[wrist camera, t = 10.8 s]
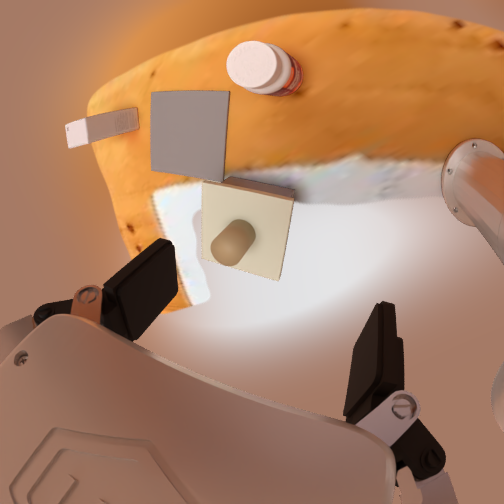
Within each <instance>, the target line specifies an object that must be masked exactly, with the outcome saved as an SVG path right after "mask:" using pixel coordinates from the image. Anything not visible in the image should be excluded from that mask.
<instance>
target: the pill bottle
mask: <svg viewBox="0 0 504 504" xmlns="http://www.w3.org/2000/svg"><path fill="white" fill-rule="evenodd" d="M227 72H228V74H229V76H230V78H231V79H232V80H233V81H234V82H235V83H236V84H238V85H240V86H242V87H244V88H245V89H247V90H248V91H250V92H253V93H256V94H264V95H272V96H286V95H289V94H292V93H293V92H295V91H296V90H297V89H298V88H299V87H300V85H301V83H302V80H303V71H302V68H301V66H300V64H299V63H298V62H297V61H296V60H295V59H294V58H293V57H291V56H290V55H289V54H288V53H286V52H285V51H284V50H282V49H281V48H280V47H278V46H275V45H273V44H269V43H262V42H259V41H247V42H243V43H241V44H239V45H238V46H236V47H235V48H234V49H233V50H232V51H231V53H230V54H229V56H228V59H227Z"/></svg>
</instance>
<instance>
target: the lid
mask: <svg viewBox="0 0 504 504" xmlns="http://www.w3.org/2000/svg"><path fill="white" fill-rule="evenodd" d="M293 204H294V198H290V197H286V196H281V195H277V194H272V193H268V192H263V191H258V190H254V189H249V188H244V187H239V186H234V185H229V184H224V183H218V182H213V181H207V180H205V181H203V182H202V218H201V219H202V220H201V221H202V222H201V223H202V225H201V229H202V231H201V233H202V234H201V235H202V259H205V260H208V261H211V262H215V263H218V264H222V265H225V266H228V267H231V268H235V269H238V270H242V271H245V272H248V273H252V274H255V275H258V276H262V277H265V278H269V279H272V280H276V281H279V279H280V276H281V271H282V266H283V261H284V255H285V250H286V244H287V239H288V233H289V227H290V222H291V216H292V210H293Z"/></svg>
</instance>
